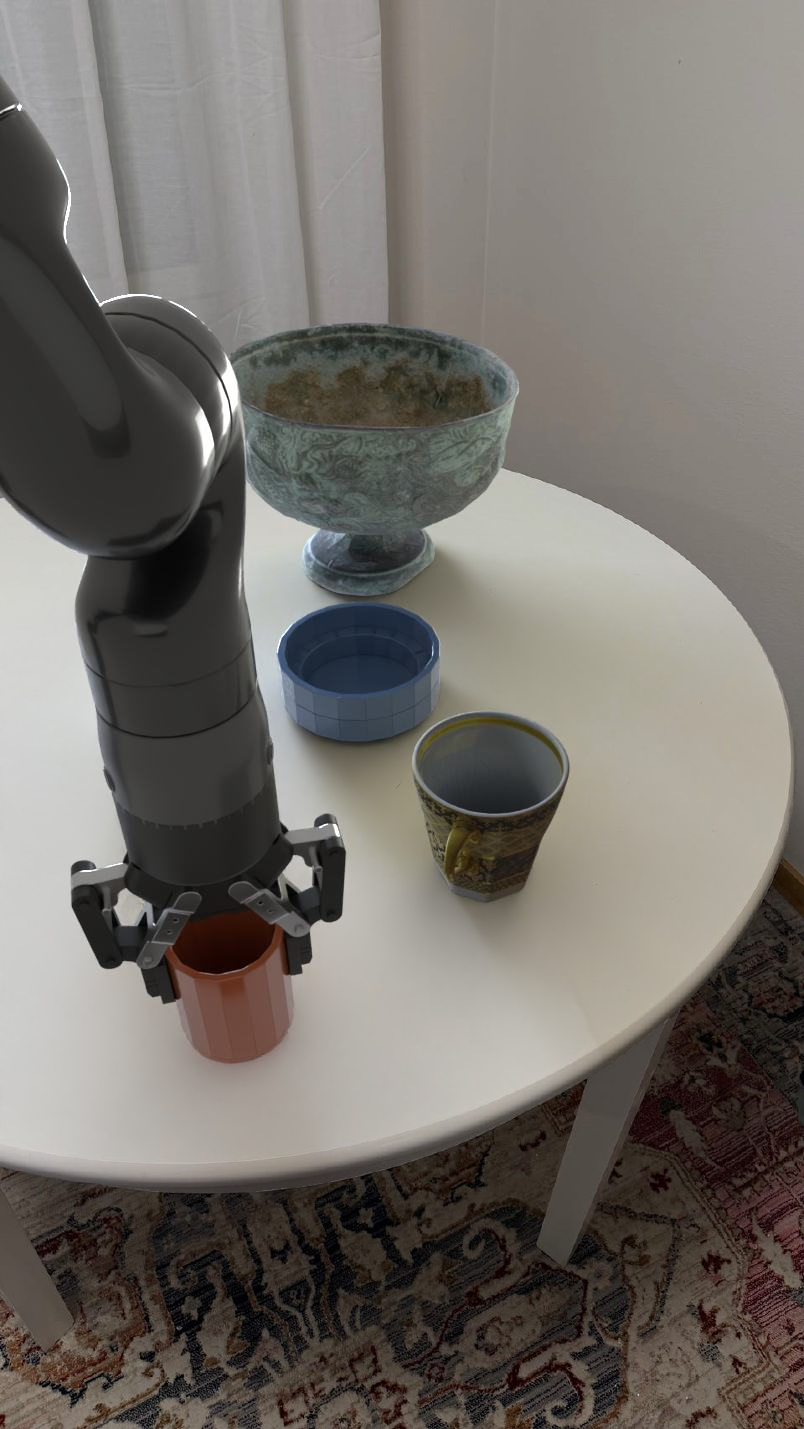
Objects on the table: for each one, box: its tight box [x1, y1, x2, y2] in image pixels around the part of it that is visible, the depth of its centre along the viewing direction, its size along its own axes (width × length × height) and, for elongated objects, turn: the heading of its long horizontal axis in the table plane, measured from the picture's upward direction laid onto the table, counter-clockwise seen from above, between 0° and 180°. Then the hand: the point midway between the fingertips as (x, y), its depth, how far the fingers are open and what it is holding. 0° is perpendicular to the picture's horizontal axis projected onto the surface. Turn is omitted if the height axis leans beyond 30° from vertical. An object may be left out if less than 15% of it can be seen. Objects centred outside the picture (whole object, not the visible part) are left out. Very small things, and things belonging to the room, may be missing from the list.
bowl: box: [276, 601, 441, 742], centre depth 83 cm, size 13×13×5 cm
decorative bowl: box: [228, 322, 520, 597], centre depth 95 cm, size 26×26×20 cm
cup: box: [164, 908, 295, 1065], centre depth 57 cm, size 6×6×8 cm
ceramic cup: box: [411, 710, 571, 903], centre depth 66 cm, size 13×10×10 cm
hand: (231, 975), depth 57 cm, fingers closed on cup, 6 cm apart
